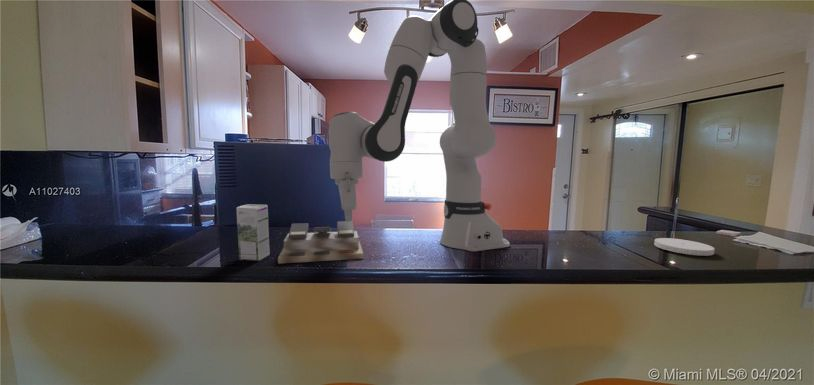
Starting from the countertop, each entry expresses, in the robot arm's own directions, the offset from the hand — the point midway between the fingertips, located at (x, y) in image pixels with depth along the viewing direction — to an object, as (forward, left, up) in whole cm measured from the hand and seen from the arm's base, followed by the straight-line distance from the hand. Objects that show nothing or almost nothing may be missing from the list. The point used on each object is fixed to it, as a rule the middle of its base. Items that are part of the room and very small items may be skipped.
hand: (348, 220), depth 87 cm
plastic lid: (-103, +15, -10) cm, 104 cm away
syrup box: (+25, -2, -10) cm, 27 cm away
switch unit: (+7, -1, -10) cm, 12 cm away
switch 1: (+14, -3, -3) cm, 14 cm away
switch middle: (+7, -3, -3) cm, 8 cm away
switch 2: (+1, -3, -3) cm, 4 cm away
